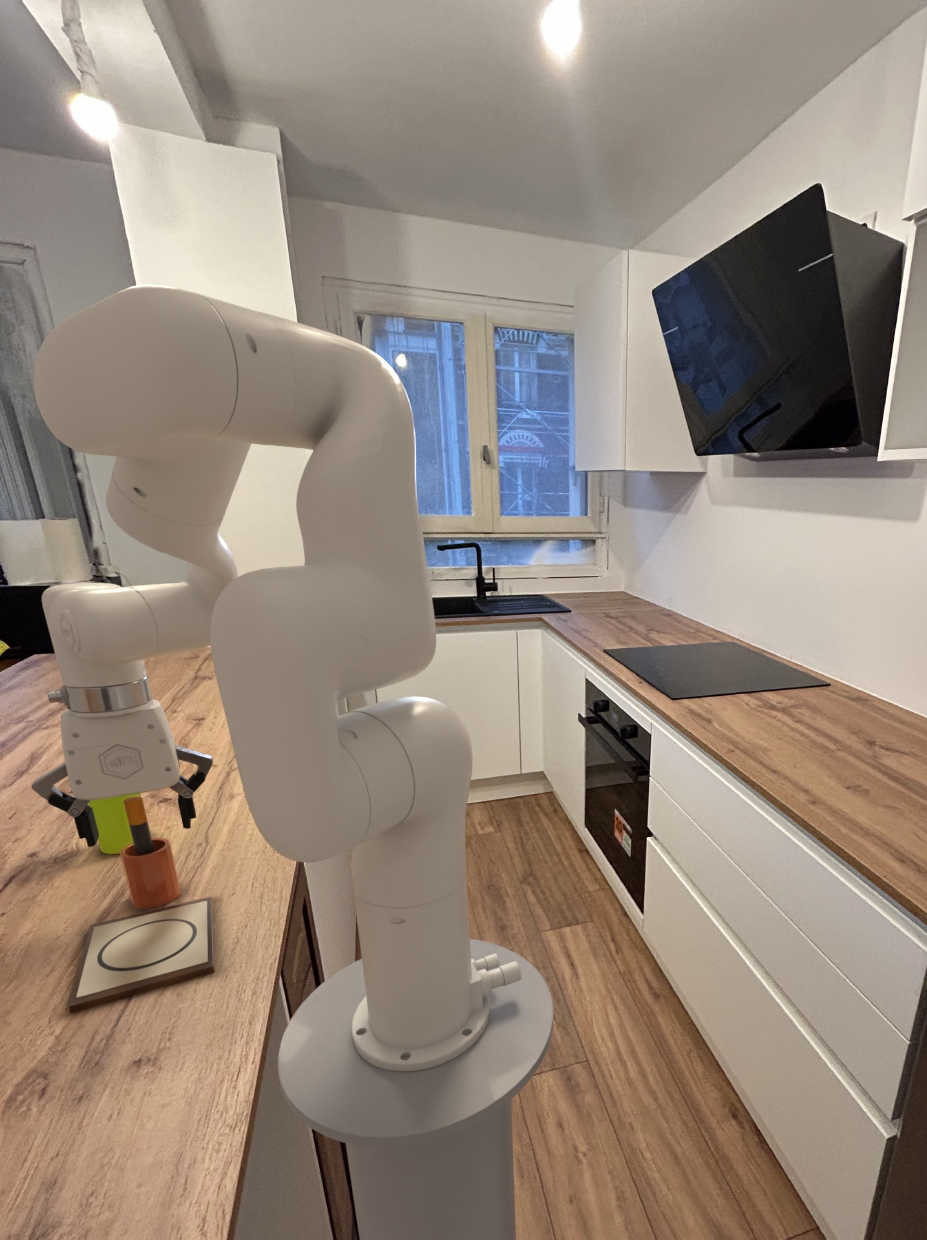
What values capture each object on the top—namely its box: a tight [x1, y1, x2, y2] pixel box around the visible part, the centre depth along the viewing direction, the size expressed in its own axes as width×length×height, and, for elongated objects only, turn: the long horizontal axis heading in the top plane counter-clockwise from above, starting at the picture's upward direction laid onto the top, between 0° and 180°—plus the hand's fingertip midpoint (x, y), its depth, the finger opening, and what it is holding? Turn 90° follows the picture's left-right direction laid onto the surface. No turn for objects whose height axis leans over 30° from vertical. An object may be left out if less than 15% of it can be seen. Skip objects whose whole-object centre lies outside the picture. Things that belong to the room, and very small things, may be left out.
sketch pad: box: [68, 896, 216, 1014], centre depth 71 cm, size 12×15×1 cm
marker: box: [124, 796, 155, 856], centre depth 78 cm, size 2×2×13 cm
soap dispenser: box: [88, 793, 142, 855], centre depth 90 cm, size 6×7×20 cm
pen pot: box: [119, 837, 181, 909], centre depth 80 cm, size 5×5×7 cm
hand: (142, 832), depth 78 cm, fingers open, 8 cm apart
